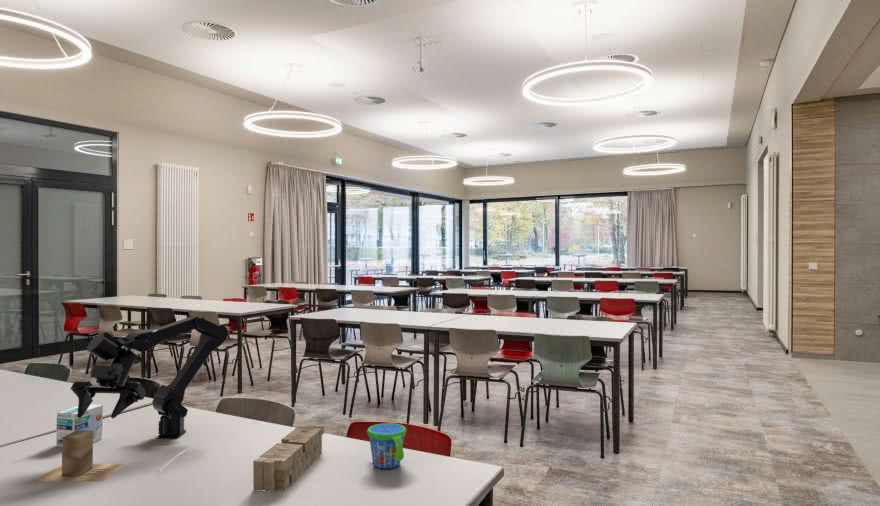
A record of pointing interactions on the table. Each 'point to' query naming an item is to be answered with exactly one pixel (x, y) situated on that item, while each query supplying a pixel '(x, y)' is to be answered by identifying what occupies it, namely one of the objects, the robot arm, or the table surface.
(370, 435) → the snack cup
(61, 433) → the light bulb box
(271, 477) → the block tower
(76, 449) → the block
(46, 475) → the board
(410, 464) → the table surface
